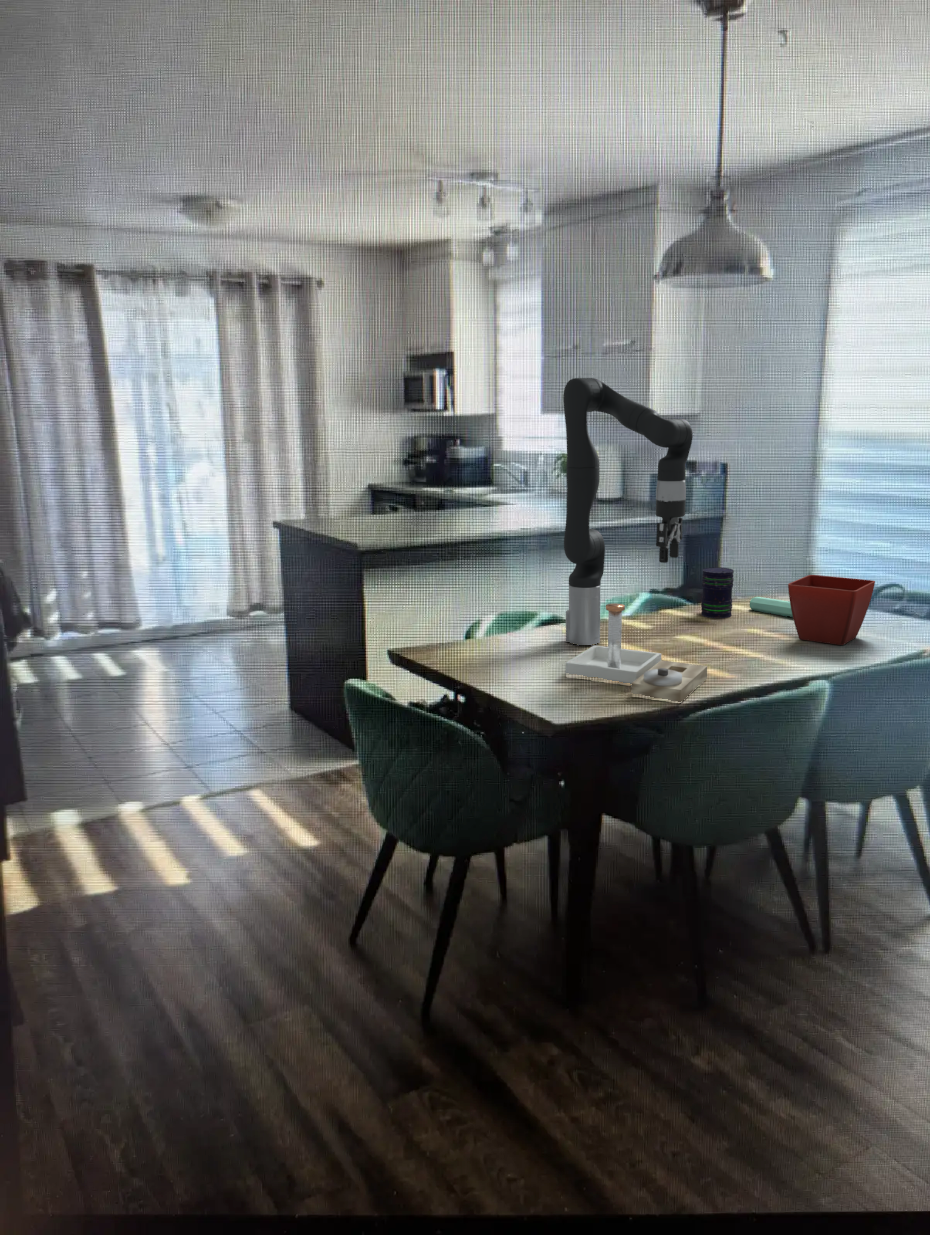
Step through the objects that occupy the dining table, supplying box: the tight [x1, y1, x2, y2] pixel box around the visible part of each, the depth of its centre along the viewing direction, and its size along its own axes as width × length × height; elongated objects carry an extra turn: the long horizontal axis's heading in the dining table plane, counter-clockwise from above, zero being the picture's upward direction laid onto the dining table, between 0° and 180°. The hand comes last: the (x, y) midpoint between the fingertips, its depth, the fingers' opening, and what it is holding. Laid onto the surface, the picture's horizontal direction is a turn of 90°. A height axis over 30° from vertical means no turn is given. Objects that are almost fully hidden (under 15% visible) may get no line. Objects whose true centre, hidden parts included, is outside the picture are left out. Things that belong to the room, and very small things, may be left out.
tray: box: [565, 644, 662, 684], centre depth 238 cm, size 19×19×4 cm
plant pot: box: [787, 574, 876, 646], centre depth 266 cm, size 19×19×17 cm
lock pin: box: [605, 602, 626, 669], centre depth 236 cm, size 5×5×17 cm
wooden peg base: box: [630, 659, 708, 702], centre depth 224 cm, size 12×22×6 cm, turn 150°
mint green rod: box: [749, 596, 793, 618], centre depth 296 cm, size 6×6×25 cm
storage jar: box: [700, 566, 735, 619], centre depth 298 cm, size 10×10×15 cm
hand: (668, 559), depth 240 cm, fingers open, 8 cm apart
